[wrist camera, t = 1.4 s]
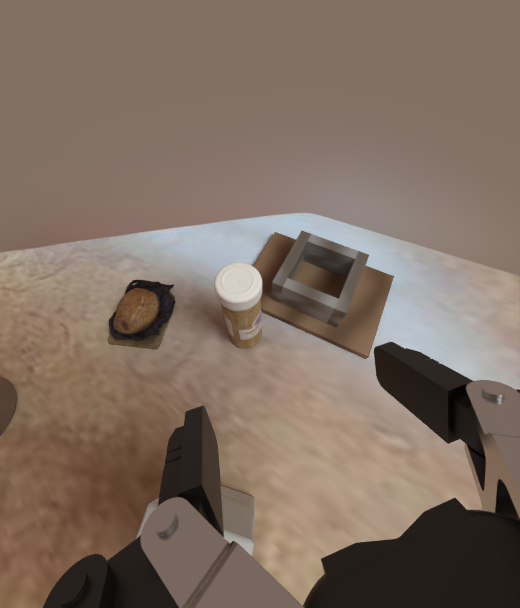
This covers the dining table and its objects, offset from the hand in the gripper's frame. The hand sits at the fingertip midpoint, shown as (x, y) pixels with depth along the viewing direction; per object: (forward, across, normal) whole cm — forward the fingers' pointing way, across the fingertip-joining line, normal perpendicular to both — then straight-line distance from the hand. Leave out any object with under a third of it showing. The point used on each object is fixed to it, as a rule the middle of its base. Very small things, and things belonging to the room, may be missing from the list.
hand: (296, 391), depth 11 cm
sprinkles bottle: (+24, 0, +7) cm, 25 cm away
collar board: (+26, -12, +4) cm, 29 cm away
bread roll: (+29, +13, +2) cm, 32 cm away
